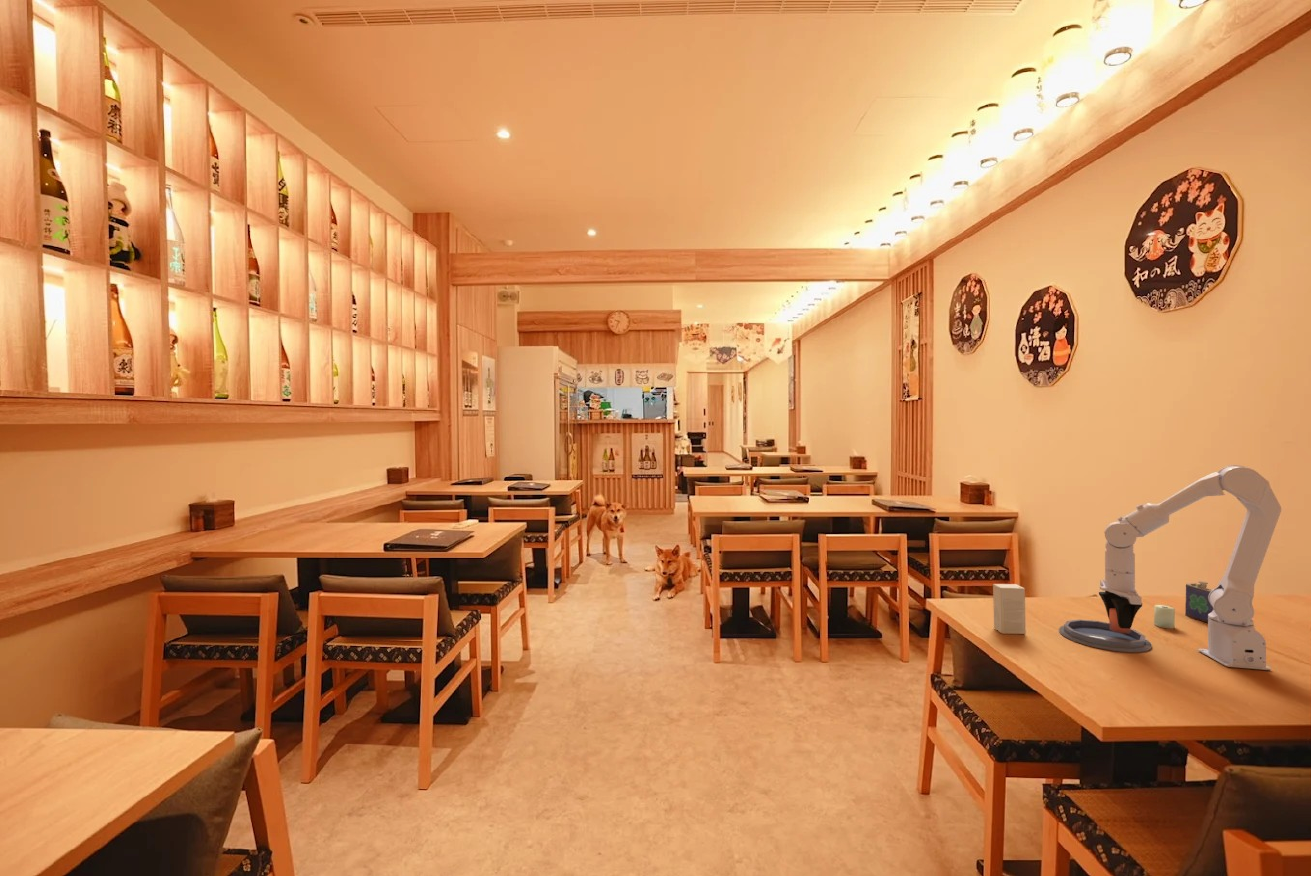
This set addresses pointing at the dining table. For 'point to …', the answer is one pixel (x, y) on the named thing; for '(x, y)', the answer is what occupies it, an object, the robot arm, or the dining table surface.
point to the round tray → (1104, 636)
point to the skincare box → (1009, 608)
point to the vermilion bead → (1115, 622)
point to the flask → (1198, 601)
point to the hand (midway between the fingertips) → (1119, 624)
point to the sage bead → (1164, 616)
